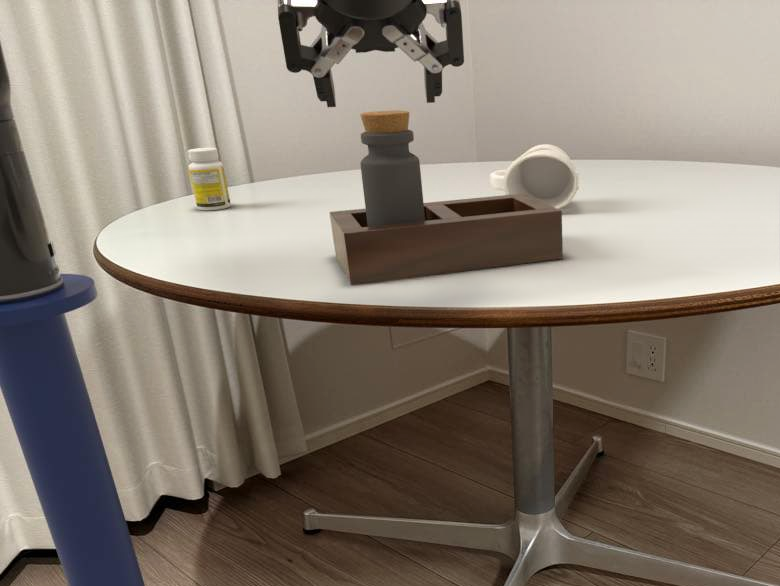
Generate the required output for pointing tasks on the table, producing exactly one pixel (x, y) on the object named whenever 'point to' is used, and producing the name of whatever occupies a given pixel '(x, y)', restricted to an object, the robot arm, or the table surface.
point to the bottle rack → (448, 238)
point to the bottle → (390, 170)
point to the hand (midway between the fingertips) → (380, 97)
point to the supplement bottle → (208, 179)
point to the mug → (540, 176)
